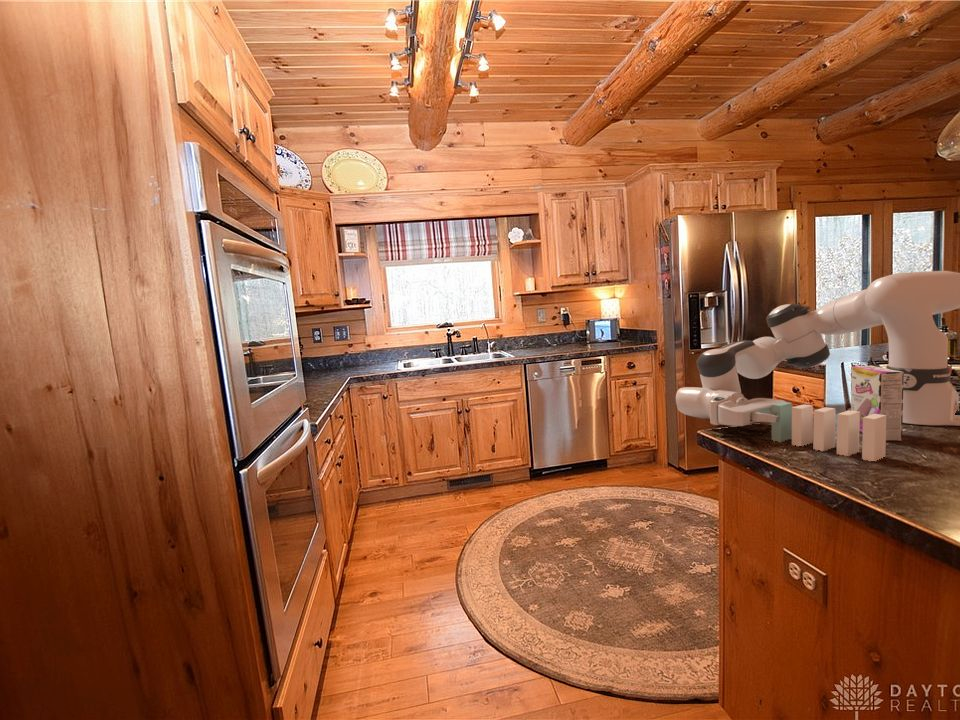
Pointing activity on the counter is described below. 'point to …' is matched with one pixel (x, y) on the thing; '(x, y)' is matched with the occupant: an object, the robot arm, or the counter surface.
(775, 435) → the domino
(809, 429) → the domino
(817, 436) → the domino
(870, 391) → the candy bar box
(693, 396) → the robot arm
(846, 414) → the domino
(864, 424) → the domino
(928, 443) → the counter surface
